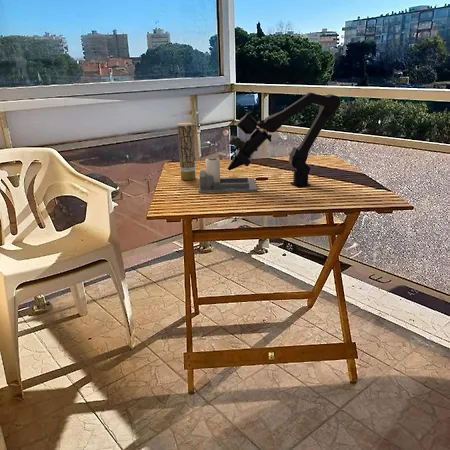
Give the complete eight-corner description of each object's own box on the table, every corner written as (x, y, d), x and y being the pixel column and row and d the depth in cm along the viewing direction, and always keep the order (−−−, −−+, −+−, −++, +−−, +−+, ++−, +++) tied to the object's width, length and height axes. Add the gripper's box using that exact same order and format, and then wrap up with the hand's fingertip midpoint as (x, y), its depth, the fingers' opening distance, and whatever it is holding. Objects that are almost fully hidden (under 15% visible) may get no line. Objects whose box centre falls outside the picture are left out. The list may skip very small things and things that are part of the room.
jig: (253, 180, 178) (253, 167, 176) (257, 191, 163) (257, 177, 161) (200, 182, 178) (199, 169, 176) (198, 193, 163) (197, 178, 161)
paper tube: (193, 181, 180) (190, 124, 171) (179, 180, 181) (175, 124, 172) (197, 177, 186) (194, 122, 177) (183, 176, 188) (179, 122, 178)
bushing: (220, 182, 173) (219, 156, 169) (220, 186, 167) (219, 159, 163) (206, 182, 173) (205, 156, 169) (206, 186, 167) (205, 160, 163)
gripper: (238, 125, 170) (214, 152, 174) (241, 132, 153) (213, 161, 157) (257, 143, 173) (232, 168, 177) (261, 151, 156) (234, 180, 160)
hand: (228, 169), depth 168 cm, fingers closed
